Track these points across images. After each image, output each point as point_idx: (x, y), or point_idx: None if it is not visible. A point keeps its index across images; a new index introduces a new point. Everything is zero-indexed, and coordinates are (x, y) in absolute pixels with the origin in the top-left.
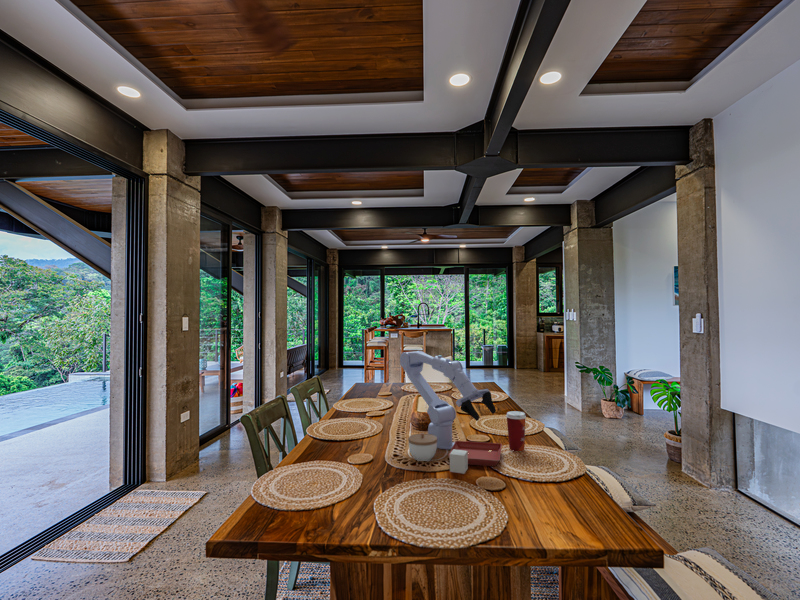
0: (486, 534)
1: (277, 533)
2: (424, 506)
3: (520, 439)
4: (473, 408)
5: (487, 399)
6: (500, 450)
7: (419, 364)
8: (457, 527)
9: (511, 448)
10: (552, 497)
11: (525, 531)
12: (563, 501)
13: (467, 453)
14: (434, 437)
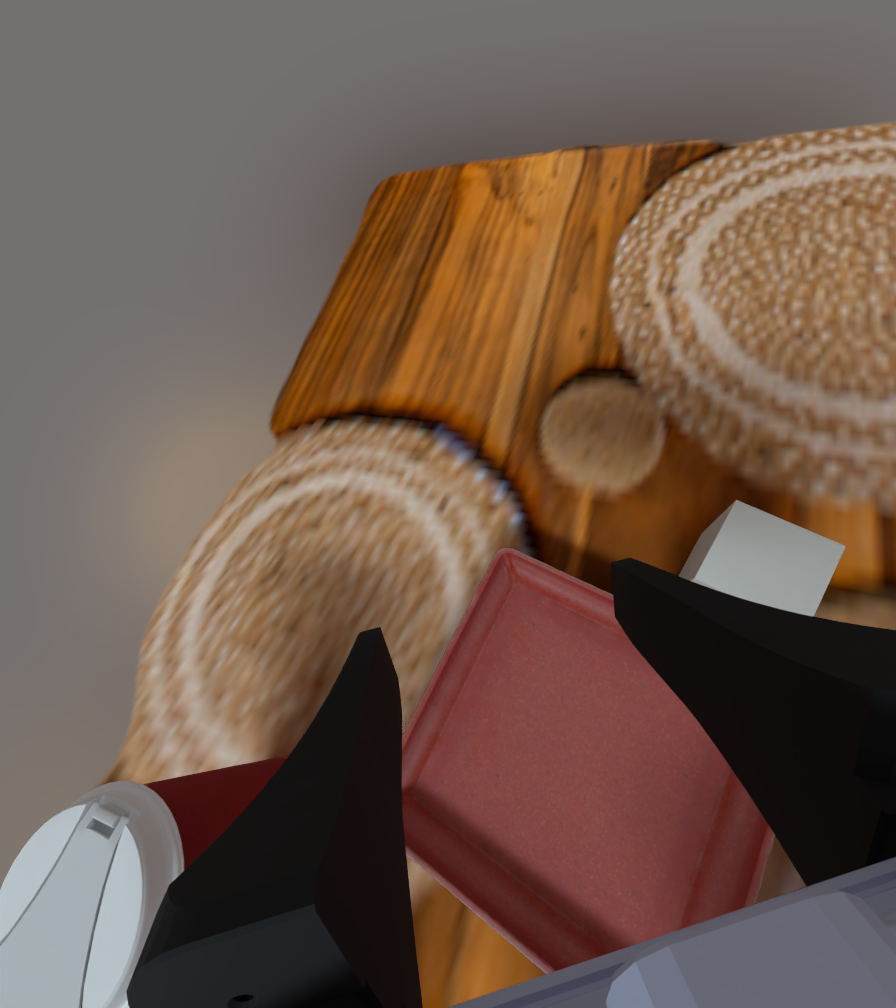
0: (709, 171)
1: None
2: None
3: (250, 763)
4: (717, 613)
5: (361, 791)
6: (430, 687)
7: None
8: (795, 187)
9: None
10: (439, 327)
11: (599, 190)
12: (424, 308)
13: (691, 578)
14: None
